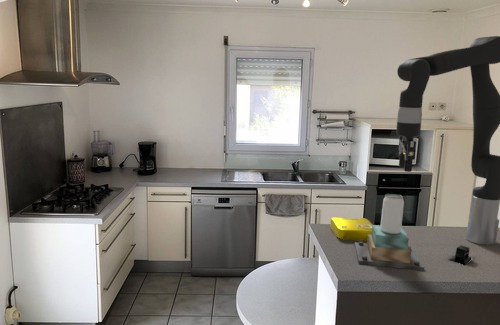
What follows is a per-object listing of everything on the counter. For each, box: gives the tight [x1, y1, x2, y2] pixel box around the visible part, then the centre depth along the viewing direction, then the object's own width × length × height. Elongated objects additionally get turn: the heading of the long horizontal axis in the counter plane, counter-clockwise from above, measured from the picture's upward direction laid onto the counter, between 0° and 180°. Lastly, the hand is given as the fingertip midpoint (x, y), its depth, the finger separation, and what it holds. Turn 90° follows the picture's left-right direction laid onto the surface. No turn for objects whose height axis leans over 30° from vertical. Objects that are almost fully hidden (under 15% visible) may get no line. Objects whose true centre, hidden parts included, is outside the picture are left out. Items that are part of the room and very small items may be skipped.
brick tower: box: [353, 224, 425, 271], centre depth 137 cm, size 20×16×9 cm
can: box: [380, 193, 405, 234], centre depth 135 cm, size 6×6×12 cm
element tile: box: [329, 216, 373, 242], centre depth 159 cm, size 15×15×5 cm
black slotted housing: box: [448, 244, 472, 266], centre depth 139 cm, size 12×7×5 cm, turn 134°
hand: (404, 168), depth 140 cm, fingers open, 8 cm apart
